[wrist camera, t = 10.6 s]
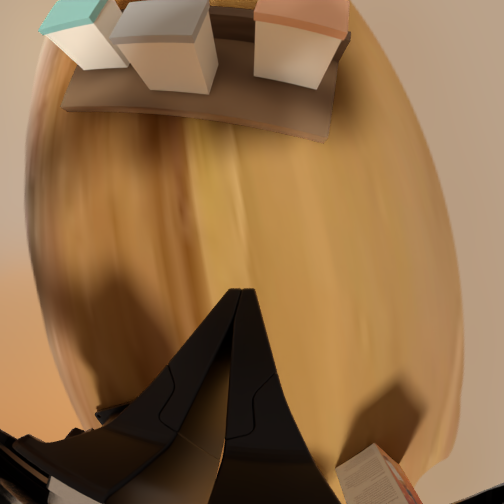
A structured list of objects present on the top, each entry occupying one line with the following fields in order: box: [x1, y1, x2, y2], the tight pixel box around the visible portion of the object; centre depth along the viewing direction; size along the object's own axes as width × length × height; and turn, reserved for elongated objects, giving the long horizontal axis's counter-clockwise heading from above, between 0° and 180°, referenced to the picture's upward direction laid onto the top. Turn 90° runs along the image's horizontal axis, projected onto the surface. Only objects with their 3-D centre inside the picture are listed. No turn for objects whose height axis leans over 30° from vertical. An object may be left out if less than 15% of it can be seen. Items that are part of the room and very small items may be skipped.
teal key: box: [38, 0, 130, 70], centre depth 15 cm, size 3×5×8 cm, turn 78°
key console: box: [60, 6, 351, 143], centre depth 18 cm, size 9×24×5 cm, turn 78°
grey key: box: [109, 0, 219, 95], centre depth 15 cm, size 3×5×8 cm, turn 78°
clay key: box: [254, 0, 350, 90], centre depth 15 cm, size 3×5×8 cm, turn 78°
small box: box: [335, 443, 423, 504], centre depth 19 cm, size 8×6×10 cm
